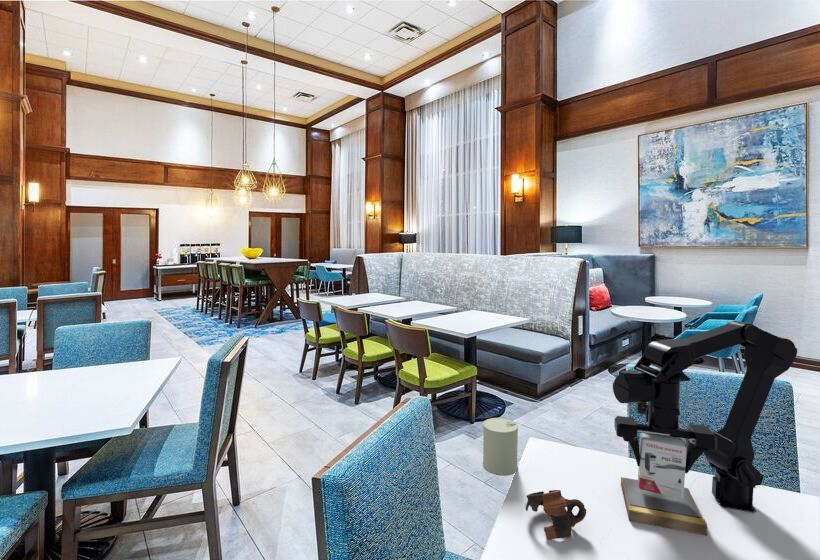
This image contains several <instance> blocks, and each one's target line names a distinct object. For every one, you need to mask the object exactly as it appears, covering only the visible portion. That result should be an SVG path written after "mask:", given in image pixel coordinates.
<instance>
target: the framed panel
mask: <svg viewBox="0 0 820 560" xmlns="http://www.w3.org/2000/svg"><path fill="white" fill-rule="evenodd" d="M620 487H621V491H622V495H623V502H624V505H625V509H626V513H627V518H628V519H627V520H628V521H630V522H635V523H640V524H645V525H651V526H656V527H661V528H666V529H671V530H676V531H681V532H687V533H692V534H697V535H701V536H707V535H708V524H707V522H706V519H704V517H703V515H702V513H701V511H700V509H699V506H698V505H697V503H696V501H695V499H694V497H693V495H692V493H691V491H690V489H689V487H684V496H683V499H680V498H675V497H671V496H667V495H663V494H659V493H654V492H650V491H646V490H642V489H639V486H638V479H635V478H627V477H620Z"/></svg>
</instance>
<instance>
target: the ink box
mask: <svg viewBox="0 0 820 560" xmlns="http://www.w3.org/2000/svg"><path fill="white" fill-rule="evenodd" d="M639 434H640V438H639V450H640V466H638V471H637V472H638V473H637V474H638V475H637V476H638V477H637V480H638V486H639V489H642V490H646V491H650V492H654V493H659V494H663V495H667V496H671V497H675V498H680V499H683V496H684V488H685V482H686V481H685V478H686V473H685V467H686V451H687V446H686V439H685V438H677V437H669V436H661V435H653V434H645V433H639Z"/></svg>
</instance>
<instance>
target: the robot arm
mask: <svg viewBox="0 0 820 560" xmlns="http://www.w3.org/2000/svg"><path fill="white" fill-rule="evenodd" d="M737 345H740V347H743V348H744V352H743V358H744V363H745V367H746V370H745V373H744V375H743V378H742V380H741V383H740V386H739V388H738V391H737V393H736V395H735V398H734V401H733V403H732V406H731V408H730V411H729V413H728V416H727V418H726V421H725V423H724V426H723V427H722V428H720V429H718V430H717V431H713V430H711V427H709V426H708V425H701V424H691V423H689V424H688V426H687V429H686V428H680V424H679V423H680V415H681V413H680V412H681V410H680V400H681V399H680V396H681V395H680V394H681V383H682V382H690V381H691V378H690V377H689V376H688V375H687V374H686V373H684V371H685V370H687V369H689V368H690V367H692V366H693V365H694V364H695V362H696V360H699V358H700V359H701V358H702V357H706V356H708V355H712V354H715V353H718V352H719V351H722V350H726V349H729V348H731V347H735V346H737ZM797 354H798V348H797V347H796V345H795V343H794V342H793V340H791V339H789V338H785V337H781V336H777V335H775V334H773V333H770V332H768V331H765V330H763V329H761V328H760V327H758V326H757V325H755V324H753V323H749V322H744V321H739V320H732V321H729V322H727V323H726V324H723V325H721V326H720V325H719V326H718V327H717V326H716V327H714V328H712V329H707V330H706V331H702V332H699V333H696V334H693V335H691V336H688V337H685V338H678V339H677V338H676V339H675V338H674V339H673V338H672V339H671V338H667V339H660V340H655V341H654V340H653V341H651V342H649V343H648V345H647V347H646V349H645V351H644V352H643V354H642V355H641V357H640V358H639V360H638V361H637V362H636V363H635V365H634V367H633V370H629V371H628V370H619V371H618V376H616V377H615V378H614V380H613V382H612V391H613V394H614V395H613V396H614V397H615V399H616V401H618V402H619V403H620V404H635V412H636V413H635V414H638V415H644V418H645V422H646V423H647V424H646V423H636V420H635V418H634V417H631V416H620V415H617V416H615V418H614V431H615V433H616V434H615V435H616V436H617V437H618V438H622V440H623V441H624V442H626V443H627V442H628V444H629V446H630V447H631V450H632V453H633V455H634V458H635V461H636V465H637V467H639V466H640V439H638V433H639V434H641V433H645V434H653V435H661V436H669V437H677V438H683V439H685V442H686V446H687V451H686V467H685V475H686V474H688V473H689V471H690V470H691V468H692V467H693V465H694V464H695V463H696V461H697V460H698V459H699V458H700V457H701V456H702V455H704V456H705V459H706V460H707V461H708V465H709V467H710V468H712V469H714V470H715V475H713V476H712V479H711V480H712V481H711V482H712V484H711V493H712V496H713V497H714V498H715V500H716V501H717V503H718V504H719V506H720V507H723V508H728V509H734V510H739V511H744V512H751V513H756V512H757V510H756V508H755V507H754V505H753V504H754V502H753V501H754V489H756V487H757V486H758V487H759V486H761V485H762V483H763V480H764V477H765V476H764V475H763V474H762V473H761V472H760V471H759V470H758V469H757V468H756V467H755V465H753V462H754V458H755V451H754V447H753V442H752V436H753V434H754V432H755V429H756V426H757V424H758V422H759V419H760V416H761V414H762V411H763V409H764V406H765V404H766V401H767V399H768V397H769V394H770V391H771V389H772V386H773V384H774V382H775V380H776V378H777V377H779V376H781V375H782V374H784V373H785V372H787V371H789V369H790V368H791V366H792V364H793V363H794V361H795V359H796V358H797ZM653 367H655V368H653ZM656 368H657V369H656ZM658 369H660V370H658Z"/></svg>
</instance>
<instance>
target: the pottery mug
mask: <svg viewBox="0 0 820 560" xmlns="http://www.w3.org/2000/svg"><path fill="white" fill-rule="evenodd" d="M526 498H527V502H526V504H525V511H526V512H527V511H528V510H529V508H531V510H532V511H533V512H535V513H538V508H539V506H540V507H541V506H542V508H543V511H544V513H545V514H546V515H547V516H549V517H550V518H549V519H550V520H551V523H552V524H551V525H549V526H548V525H547V526H544V527H543V531H544V533H545V534H544V535H545V538H546V540H557V539H565V538H566V539H567V538H569V537H571V536H572V529H573V528H574V527H575V525H577V524H578V523H581V522H582V521H583V520H584V519H585V518H586V516H587V509H586V508H585V504H584V503H583V502H582V501H581V500H579V499H577V498H576V499H575V498H574V499H568V498H565V497H564V496H563V495H562V490H560V489H552V490H548V492H544V490H543V491H537V492H531V493H529V494H527V495H526ZM575 507H577V508H578V512H577V513H576V515H575V514H574V513H573V509H574V508H575Z"/></svg>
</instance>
